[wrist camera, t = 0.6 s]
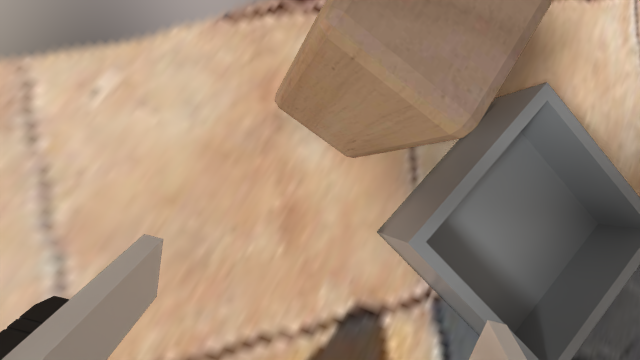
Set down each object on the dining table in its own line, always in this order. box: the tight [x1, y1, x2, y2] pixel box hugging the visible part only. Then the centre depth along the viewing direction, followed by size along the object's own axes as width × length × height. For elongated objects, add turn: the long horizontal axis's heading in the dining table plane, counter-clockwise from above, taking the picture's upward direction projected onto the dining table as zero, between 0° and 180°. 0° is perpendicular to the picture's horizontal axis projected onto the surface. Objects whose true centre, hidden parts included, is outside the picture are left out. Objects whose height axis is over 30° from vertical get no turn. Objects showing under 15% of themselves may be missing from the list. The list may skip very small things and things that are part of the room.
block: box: [275, 0, 551, 158], centre depth 28 cm, size 10×10×20 cm
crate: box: [377, 82, 640, 360], centre depth 39 cm, size 20×20×7 cm
